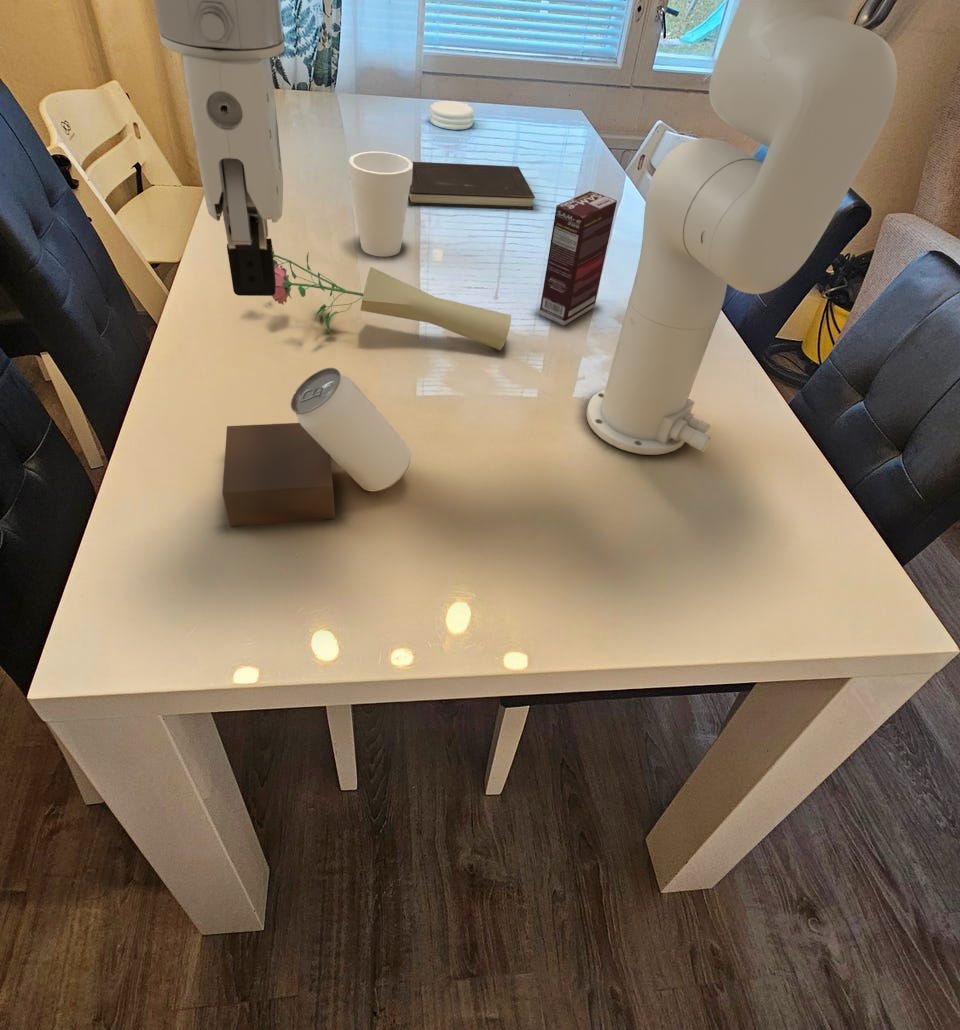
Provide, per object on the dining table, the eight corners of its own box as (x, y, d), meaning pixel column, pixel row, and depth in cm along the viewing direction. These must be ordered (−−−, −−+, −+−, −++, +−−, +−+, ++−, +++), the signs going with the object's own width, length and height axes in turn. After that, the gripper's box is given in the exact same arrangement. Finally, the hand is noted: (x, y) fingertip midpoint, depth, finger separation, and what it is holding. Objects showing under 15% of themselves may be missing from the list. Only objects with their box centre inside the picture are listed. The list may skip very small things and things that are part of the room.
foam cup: (343, 238, 115) (340, 153, 105) (396, 232, 118) (397, 149, 109) (364, 264, 109) (362, 176, 100) (419, 257, 112) (422, 172, 103)
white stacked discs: (480, 124, 164) (482, 107, 162) (457, 133, 158) (458, 116, 155) (445, 113, 167) (446, 97, 165) (421, 122, 161) (421, 105, 158)
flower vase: (480, 405, 98) (224, 331, 91) (490, 339, 104) (250, 265, 97) (508, 352, 88) (223, 265, 81) (517, 282, 94) (252, 195, 87)
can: (405, 488, 70) (332, 407, 62) (354, 498, 73) (277, 422, 65) (419, 439, 73) (351, 356, 65) (369, 450, 77) (299, 373, 68)
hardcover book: (533, 209, 131) (535, 196, 129) (409, 205, 127) (409, 192, 125) (516, 177, 142) (517, 165, 140) (402, 172, 138) (402, 160, 136)
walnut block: (329, 454, 77) (327, 421, 73) (335, 519, 70) (332, 485, 67) (233, 459, 75) (226, 425, 71) (229, 526, 68) (221, 492, 65)
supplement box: (569, 295, 108) (590, 189, 97) (595, 307, 106) (620, 200, 95) (536, 314, 103) (554, 204, 92) (563, 327, 101) (585, 216, 90)
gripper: (280, 53, 40) (303, 340, 52) (284, 0, 50) (302, 250, 63) (137, 42, 38) (197, 340, 51) (171, -11, 48) (214, 248, 61)
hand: (255, 290), depth 57 cm, fingers closed
